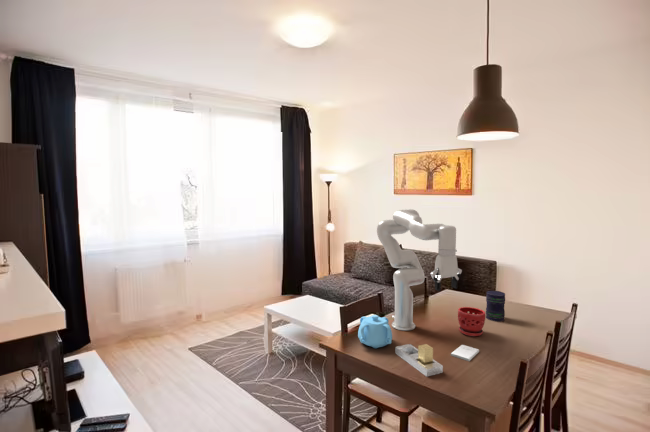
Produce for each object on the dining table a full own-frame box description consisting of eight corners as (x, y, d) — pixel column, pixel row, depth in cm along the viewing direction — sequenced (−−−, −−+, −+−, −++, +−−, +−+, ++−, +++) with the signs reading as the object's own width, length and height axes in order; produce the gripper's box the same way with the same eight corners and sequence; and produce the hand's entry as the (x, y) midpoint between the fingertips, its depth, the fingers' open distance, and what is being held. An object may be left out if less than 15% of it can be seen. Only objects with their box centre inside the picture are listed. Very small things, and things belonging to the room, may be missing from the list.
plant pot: (487, 339, 177) (488, 315, 176) (459, 336, 180) (460, 313, 179) (481, 328, 190) (482, 306, 189) (455, 327, 193) (456, 305, 192)
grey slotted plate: (395, 353, 162) (395, 346, 162) (409, 350, 165) (410, 343, 165) (426, 376, 142) (426, 369, 142) (442, 372, 145) (442, 365, 145)
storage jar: (507, 321, 200) (508, 295, 199) (490, 321, 200) (491, 295, 199) (499, 315, 210) (500, 290, 209) (482, 315, 210) (483, 290, 209)
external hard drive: (450, 356, 160) (461, 347, 169) (469, 362, 155) (479, 352, 164) (450, 353, 160) (461, 344, 169) (469, 359, 154) (479, 349, 164)
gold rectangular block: (418, 366, 151) (418, 345, 150) (426, 364, 152) (426, 344, 151) (424, 371, 147) (424, 349, 146) (432, 369, 148) (433, 348, 148)
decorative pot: (356, 349, 167) (356, 320, 166) (359, 335, 183) (359, 309, 182) (391, 352, 164) (391, 323, 163) (392, 337, 179) (392, 311, 178)
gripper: (455, 249, 170) (454, 285, 172) (426, 252, 164) (425, 289, 165) (467, 252, 163) (466, 289, 165) (437, 255, 157) (436, 293, 158)
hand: (446, 289), depth 165 cm, fingers open, 9 cm apart
